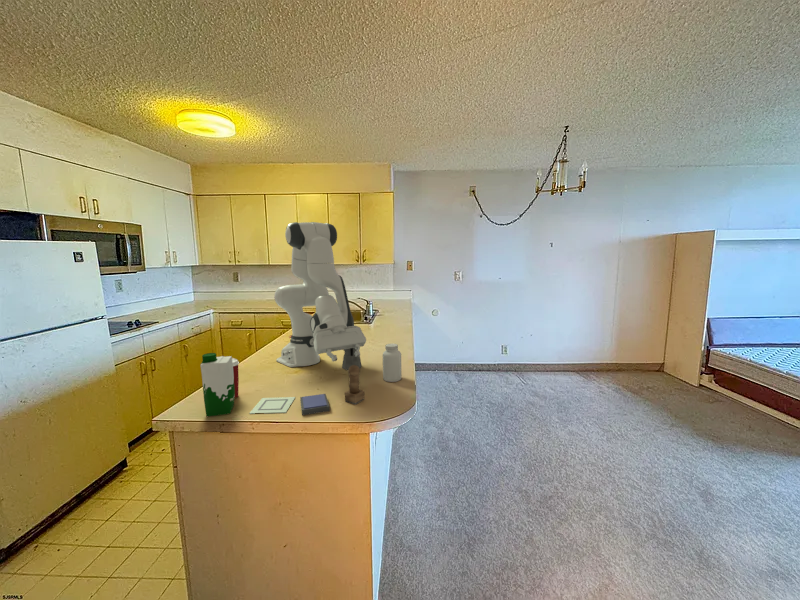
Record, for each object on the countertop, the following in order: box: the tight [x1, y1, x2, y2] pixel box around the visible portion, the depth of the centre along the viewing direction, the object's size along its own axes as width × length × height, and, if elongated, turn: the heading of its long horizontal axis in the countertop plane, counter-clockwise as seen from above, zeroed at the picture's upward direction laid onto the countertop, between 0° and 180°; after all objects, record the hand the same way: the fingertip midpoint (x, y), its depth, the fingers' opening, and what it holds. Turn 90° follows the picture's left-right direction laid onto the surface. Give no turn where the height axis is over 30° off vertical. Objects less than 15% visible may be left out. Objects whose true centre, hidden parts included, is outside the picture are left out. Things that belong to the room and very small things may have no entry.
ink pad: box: [299, 393, 331, 416], centre depth 115 cm, size 11×9×2 cm
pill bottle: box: [382, 343, 402, 383], centre depth 140 cm, size 8×8×15 cm
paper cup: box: [232, 357, 240, 399], centre depth 122 cm, size 8×8×14 cm
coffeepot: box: [341, 348, 362, 371], centre depth 154 cm, size 15×9×18 cm, turn 9°
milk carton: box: [200, 352, 236, 417], centre depth 111 cm, size 9×9×20 cm
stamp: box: [344, 365, 365, 405], centre depth 119 cm, size 5×5×13 cm
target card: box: [249, 396, 296, 415], centre depth 116 cm, size 12×12×1 cm
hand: (346, 358), depth 123 cm, fingers open, 8 cm apart
